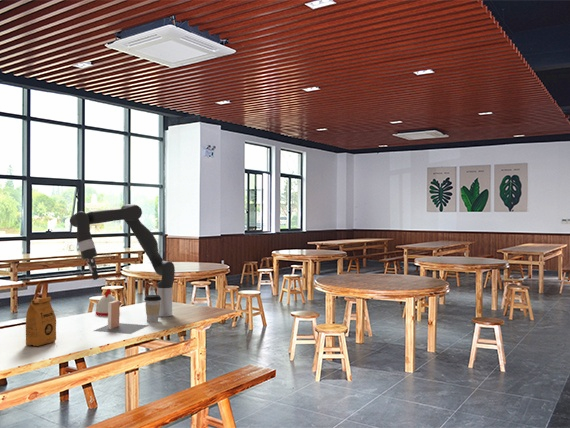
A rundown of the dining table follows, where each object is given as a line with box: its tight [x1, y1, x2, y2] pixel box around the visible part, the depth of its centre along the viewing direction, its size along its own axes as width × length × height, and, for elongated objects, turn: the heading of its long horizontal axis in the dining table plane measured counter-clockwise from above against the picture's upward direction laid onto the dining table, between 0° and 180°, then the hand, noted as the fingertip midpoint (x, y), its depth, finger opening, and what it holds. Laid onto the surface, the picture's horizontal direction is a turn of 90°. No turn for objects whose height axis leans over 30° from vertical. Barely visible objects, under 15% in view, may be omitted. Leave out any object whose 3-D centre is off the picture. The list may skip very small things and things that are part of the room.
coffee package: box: [25, 296, 57, 347], centre depth 243 cm, size 10×12×22 cm
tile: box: [107, 299, 121, 329], centre depth 276 cm, size 2×8×14 cm, turn 167°
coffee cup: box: [144, 294, 161, 323], centre depth 293 cm, size 9×9×15 cm
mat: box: [93, 322, 149, 335], centre depth 275 cm, size 22×20×1 cm
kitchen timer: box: [95, 288, 121, 317], centre depth 314 cm, size 14×14×15 cm
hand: (96, 279), depth 266 cm, fingers open, 8 cm apart
